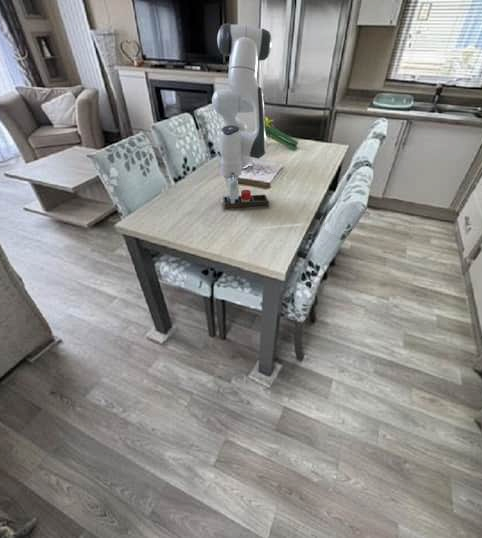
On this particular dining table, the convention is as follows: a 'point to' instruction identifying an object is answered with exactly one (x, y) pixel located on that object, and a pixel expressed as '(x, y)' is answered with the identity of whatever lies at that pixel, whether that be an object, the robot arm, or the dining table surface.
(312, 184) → the dining table surface
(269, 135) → the daffodil flowers
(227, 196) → the slate token
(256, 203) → the token board
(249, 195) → the red token
